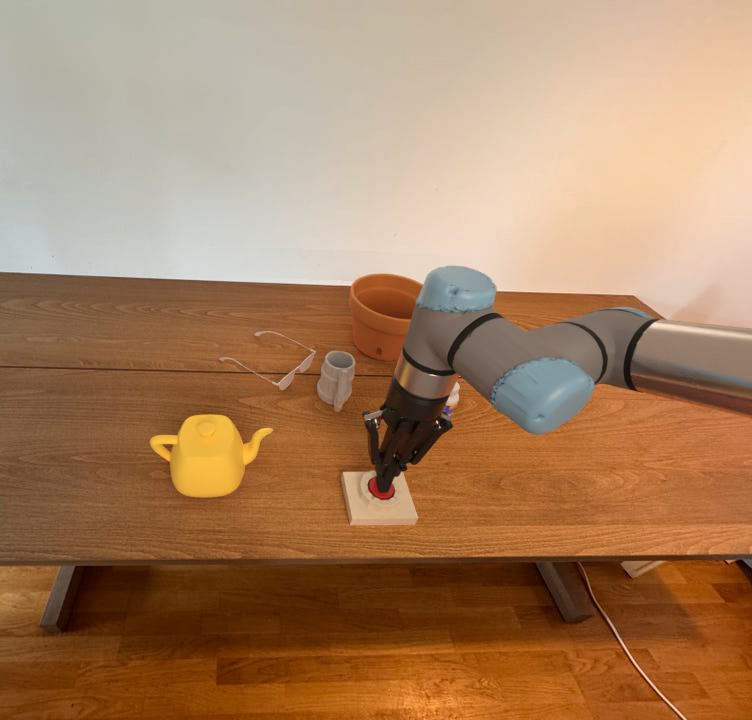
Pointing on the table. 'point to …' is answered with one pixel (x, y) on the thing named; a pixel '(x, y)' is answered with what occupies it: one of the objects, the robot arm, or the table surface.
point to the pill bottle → (452, 400)
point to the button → (375, 492)
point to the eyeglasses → (289, 377)
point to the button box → (377, 501)
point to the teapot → (208, 455)
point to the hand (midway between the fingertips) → (381, 485)
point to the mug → (336, 378)
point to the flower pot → (382, 313)
